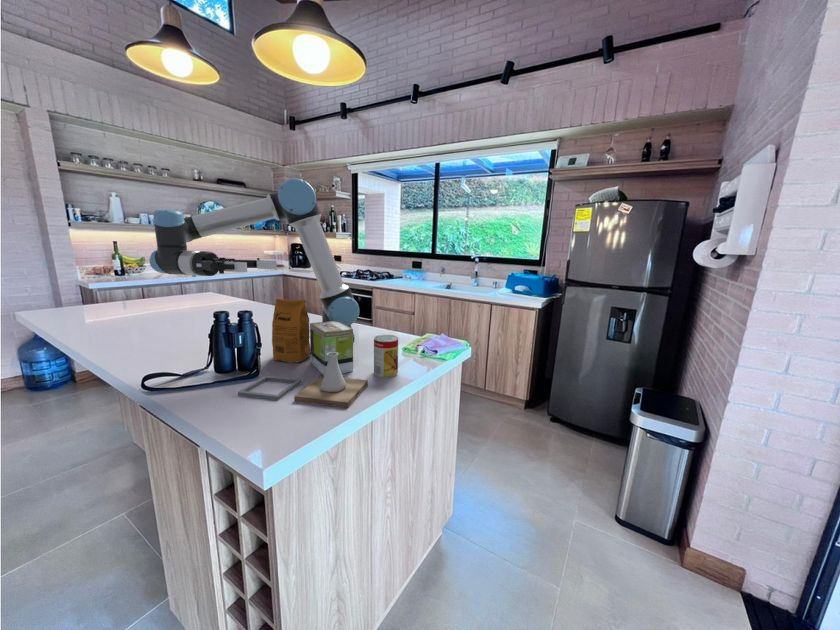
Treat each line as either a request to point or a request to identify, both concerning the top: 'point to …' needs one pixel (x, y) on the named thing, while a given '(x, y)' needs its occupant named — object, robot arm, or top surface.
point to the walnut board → (331, 393)
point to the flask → (333, 375)
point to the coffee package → (290, 331)
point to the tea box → (331, 345)
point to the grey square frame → (270, 396)
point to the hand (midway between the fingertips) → (262, 266)
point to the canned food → (385, 355)
